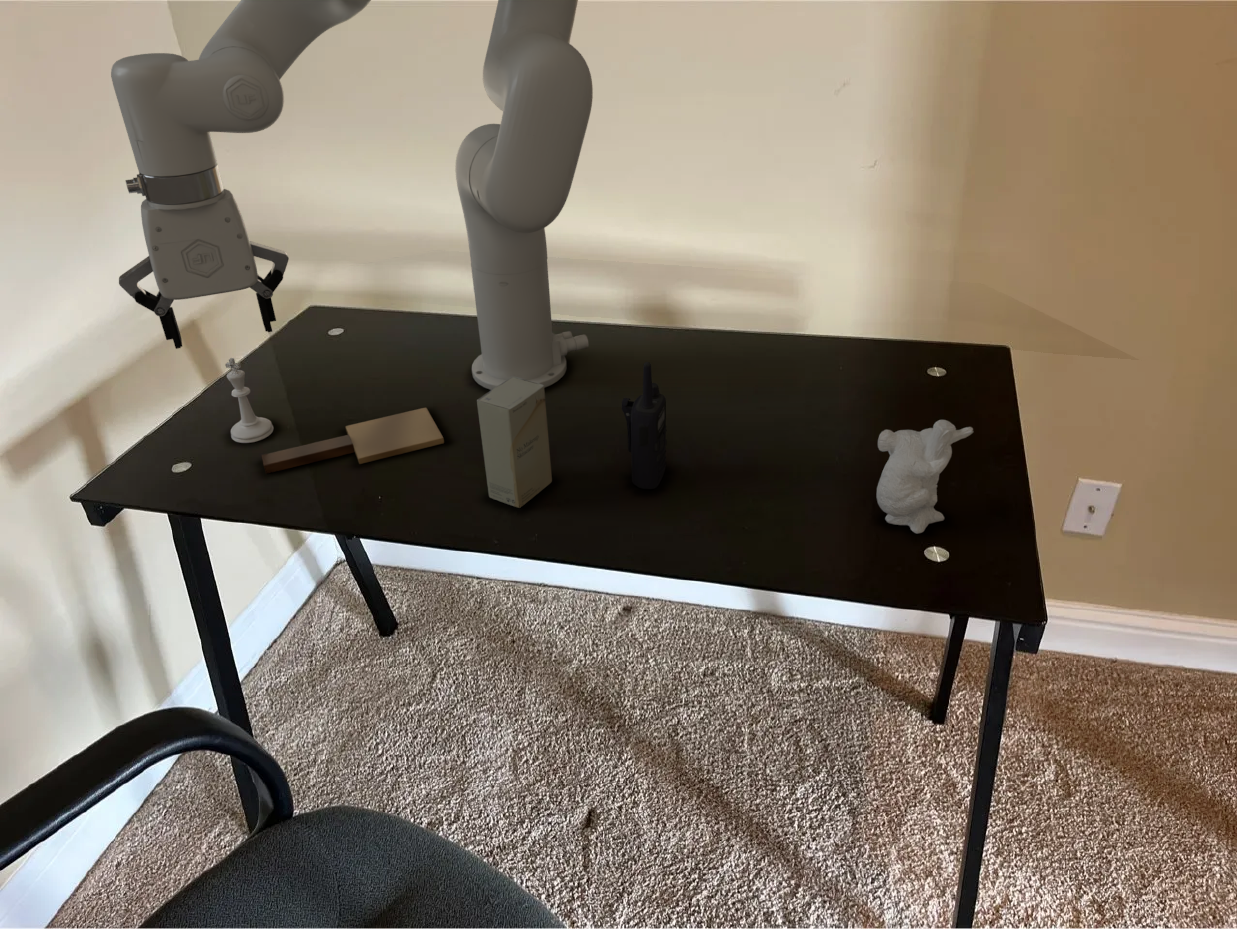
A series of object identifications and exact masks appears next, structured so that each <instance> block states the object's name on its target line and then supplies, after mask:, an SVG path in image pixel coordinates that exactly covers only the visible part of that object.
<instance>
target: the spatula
mask: <svg viewBox="0 0 1237 929" xmlns="http://www.w3.org/2000/svg"><path fill="white" fill-rule="evenodd" d="M345 432H346V434H344V435H341V436H337V437H332V438H329V439H324V440H320V441H315V442H311V443H307V444H303V445H298V446H294V447H290V448H285V449H282V450H277V451H274V452H270V453H265V454H261V460H262V464H263V468H264V472H265V474H267V475H268V474H270V473H277V472H280V471H283V470H289V469H291V468H296V467H300V466H304V465H308V464H312V463H313V464H314V463H316V462H321V461H324V460H329V459H333V458H337V457H342V456H345V455H349V454H355V456H356V459H357V462H358V464H359V465H362V464H366V463H369V462H370V463H371V462H374V461H378V460H382V459H387V458H391V457H393V456H398V455H402V454H407V453H410V452H414V451H415V452H416V451H418V450H422V449H426V448H431V447H435V446H439V445H442V444H443V445H444V443H445V439H444V437H443V435H442V433H441V431H440V429H439V428H438V426H437V424H436V422H435V421H434V419H433V417H432V414H431V413H430V411H429V410H428V408H427V407H421V408H418V409H417V408H416V409H414V410H409V411H405V412H400V413H395V414H391V415H388V416H383V417H379V418H375V419H370V420H366V421H362V422H358V423H353V424H348V425H345Z"/></svg>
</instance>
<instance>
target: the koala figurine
mask: <svg viewBox="0 0 1237 929" xmlns="http://www.w3.org/2000/svg"><path fill="white" fill-rule="evenodd" d="M974 431H975V430H974V428H973V427H972V426H966V427H963V428H961V429H957V428H956V426H955V424H953V423H952V422H951V421H949V420H946V419H939V420H937V421H935V422H934V424H933V426H932V427H929V428H924V429H922V430H921V431H917V430H913V429H900V430H897V431H895V432H894V431H893V430H891V429H884V430H882V431H881V432H880V433H879V434H878V439H877V448H878V450H879V451H880V452H883V453H884V452H888V454H889V457H888V460H887V462H886V463H885V465H884V467H883V470H882V472H881V475H880V477H879V480H878V482H877V486H876V496H875V497H876V498H875V499H876V501H877V505H878V507H879V508H880V510H881V511H882V512H884V513H886V515H885V517H884V520H885V521H886V523H888V524H890V525H898V526H908V527H909V528H910V529H909V530H910V531H912V533H914V534H917V535H918V534H923V533H924V532H925V530H926V528H927V527H928V526H929V525H931V524H934V523H938V522H943V521H944V520H945V516H944V514H943V513H942V512H940V511H938V510H936V508H934V507H935V505H936V504H937V502H938V495H937V494H938V493H937V492H938V489H937V488H938V483H939V480H940V474H941V473H942V472H943V471H944V470H945V468H947V466H948V464H949V462H950V461H951V458H952V456H953V455H952V454H953V448H952V444H953V443H956V442H958V441H960V440H963V439H966V438H967V437H969V436H971V435H972V434H973V433H974Z"/></svg>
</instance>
